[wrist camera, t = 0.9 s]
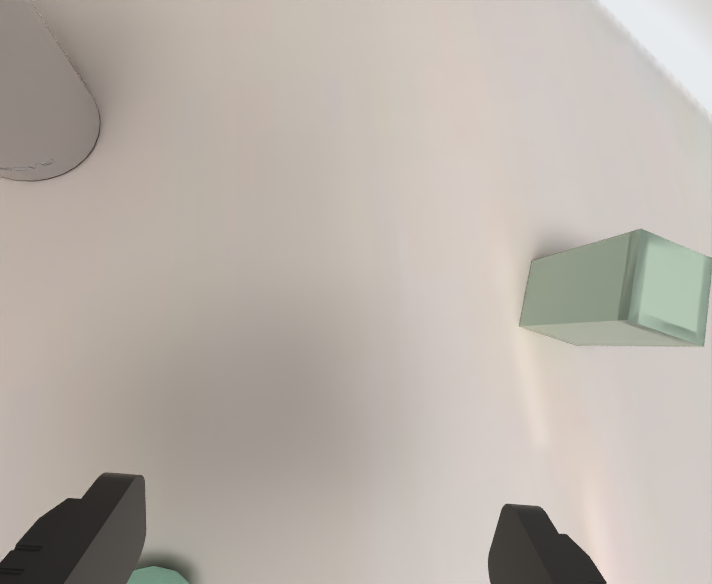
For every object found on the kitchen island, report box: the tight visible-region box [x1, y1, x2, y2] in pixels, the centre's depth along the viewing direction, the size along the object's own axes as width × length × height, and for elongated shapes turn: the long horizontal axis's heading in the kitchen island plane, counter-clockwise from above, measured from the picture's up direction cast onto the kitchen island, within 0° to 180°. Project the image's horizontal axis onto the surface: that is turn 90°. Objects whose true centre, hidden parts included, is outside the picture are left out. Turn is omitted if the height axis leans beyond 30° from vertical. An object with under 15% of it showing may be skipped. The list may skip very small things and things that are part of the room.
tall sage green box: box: [519, 229, 712, 347], centre depth 32 cm, size 6×6×11 cm
